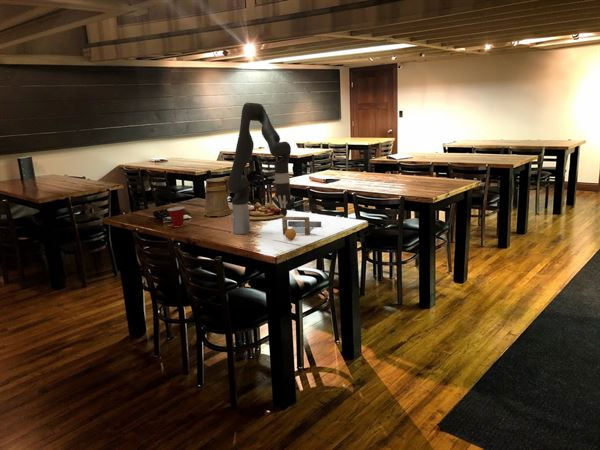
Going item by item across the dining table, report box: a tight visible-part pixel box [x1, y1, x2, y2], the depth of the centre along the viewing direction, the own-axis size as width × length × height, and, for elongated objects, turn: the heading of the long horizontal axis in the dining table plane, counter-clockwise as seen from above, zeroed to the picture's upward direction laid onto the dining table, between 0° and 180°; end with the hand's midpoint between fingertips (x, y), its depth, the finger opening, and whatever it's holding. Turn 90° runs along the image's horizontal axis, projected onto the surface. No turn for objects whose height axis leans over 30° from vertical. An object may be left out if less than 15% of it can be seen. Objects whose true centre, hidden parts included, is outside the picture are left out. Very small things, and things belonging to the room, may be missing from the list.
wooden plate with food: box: [249, 201, 287, 222], centre depth 331 cm, size 32×32×8 cm
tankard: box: [203, 175, 232, 217], centre depth 342 cm, size 18×24×25 cm
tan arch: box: [281, 216, 311, 236], centre depth 279 cm, size 3×15×10 cm, turn 74°
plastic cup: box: [167, 206, 185, 227], centre depth 312 cm, size 11×11×12 cm
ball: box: [284, 227, 297, 240], centre depth 270 cm, size 6×6×6 cm
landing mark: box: [291, 227, 315, 234], centre depth 289 cm, size 13×13×1 cm
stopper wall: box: [287, 220, 322, 228], centre depth 297 cm, size 20×2×3 cm, turn 74°
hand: (284, 214), depth 258 cm, fingers closed
